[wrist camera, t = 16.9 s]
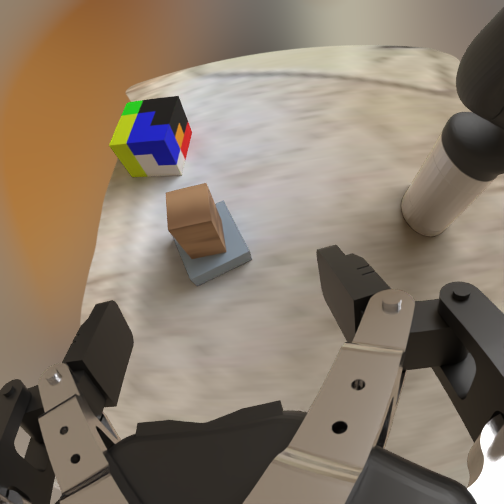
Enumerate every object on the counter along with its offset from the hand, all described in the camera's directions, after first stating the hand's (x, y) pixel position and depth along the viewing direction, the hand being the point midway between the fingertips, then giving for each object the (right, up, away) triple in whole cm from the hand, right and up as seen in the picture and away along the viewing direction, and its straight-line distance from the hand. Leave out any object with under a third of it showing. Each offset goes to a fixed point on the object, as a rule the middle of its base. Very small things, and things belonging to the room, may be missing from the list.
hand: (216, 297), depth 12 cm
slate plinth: (-5, +2, +36) cm, 37 cm away
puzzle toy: (-15, +20, +44) cm, 51 cm away
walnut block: (-5, +3, +33) cm, 33 cm away
